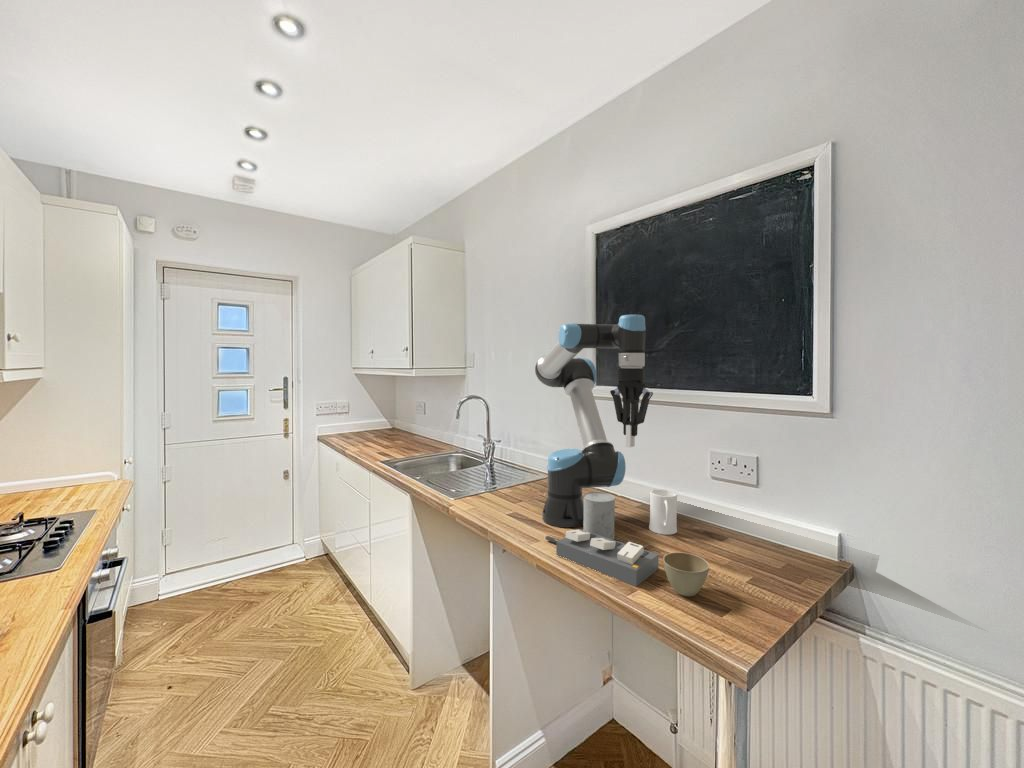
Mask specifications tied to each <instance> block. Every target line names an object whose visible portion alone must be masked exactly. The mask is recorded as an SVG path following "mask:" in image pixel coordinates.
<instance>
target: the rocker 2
mask: <svg viewBox="0 0 1024 768" xmlns="http://www.w3.org/2000/svg"><path fill="white" fill-rule="evenodd" d="M615 544H616V542H614V541H611V540H608V539H605V538H591V542H590V546H593V547H596V548H599V549H602V550H608V549H615Z"/></svg>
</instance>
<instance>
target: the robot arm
mask: <svg viewBox="0 0 1024 768" xmlns="http://www.w3.org/2000/svg"><path fill="white" fill-rule="evenodd" d="M646 328H647V327H646V317H645V316H644V315H643V314H624V315H623V314H622V315H620V317H619V319H618V323H617V324H614V323H613V324H612V323H610V324H608V323H605V324H604V323H602V324H601V323H600V324H598V323H577V322H576V323H575V322H574V323H573V322H572V323H564V324H562V325H561V326H560V328H559V331H558V341H557V342H556V344H555V345H554V346H553V347H552V348H551V349H550V351H548V352H547V354H545V355H543V356H541V357H540V358H539V359H538V360H537V361H536V364H535V367H534V371H535V376H536V377H537V379H538V381H540V382H541V383H542V384H543V385H545V386H547V387H550V388H563V389H564V393H565V395H567V396H570V399H571V400H570V401H571V403H572V404H571V405H572V407H573V411H574V415H575V420H576V423H577V426H578V429H579V433H580V437H581V441H582V445H583V449H582V450H581V449H579V448H563V449H558V450H555V451H552V453H550V454H549V455H548V458H547V466H546V469H547V498H546V500H545V503H544V505H543V510H542V513H541V514H542V521H543V522H545V524H548V525H550V526H554V527H559V528H575V527H580V526H583V523H584V498H583V489H591V488H593V489H594V488H610V487H615V486H619V485H621V484H622V483H623V481H624V478H625V475H626V458H625V456H624V454H623V453H622V452H621V451H618V450H617V451H616V450H615V447H614V444H613V443H612V442H609V441H608V439H607V435H606V433H605V429H604V426H603V423H602V420H601V419H602V418H601V417H600V412H599V410H598V406H597V403H596V399H595V396H594V393H593V389H594V387H595V384H596V383H597V378H598V376H597V368H596V366H595V364H594V362H593V361H592V360H591V359H589V358H586V357H585V358H584V357H583V358H582V357H576V356H577V355H578V354H579V353H580V352H581V351H582V350H583V349H609V350H613V349H614V350H615V349H618V366H619V367H620V368H618V371H617V376H618V377H617V379H618V383H617V387H615V388H614V389H612V390H611V389H610V391H609V393H610V395H611V397H612V399H613V404H614V408H615V409H614V410H615V414H616V419H617V422H618V423H621V424H623V427H622V428H623V431H622V433H623V435H624V436H625V448H634V447H635V441H636V439H635V438H636V437H637V436H638V425H640V424H644V422H645V418H646V416H647V415H646V414H647V412H648V407H649V404H650V400H651V398H652V397H653V396H654V392H653V391H649V390H648V389H647V388H646V384H645V374H646V373H645V368H644V367H645V363H646V359H645V358H646V357H645V355H646V354H645V353H646V331H647V330H646ZM575 357H576V358H575ZM621 396H622V397H621ZM641 396H642V398H640V397H641ZM640 399H641V400H640ZM639 403H640V404H639Z"/></svg>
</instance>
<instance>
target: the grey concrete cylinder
mask: <svg viewBox="0 0 1024 768" xmlns="http://www.w3.org/2000/svg"><path fill="white" fill-rule="evenodd" d="M582 498H583V502H584V523H583V525H582V526H583V527H582V530H584V531H588V532H591V533H594V534H597V535H600V536H603V537H606V538H609V539H612V540H615V517H616V514H615V509H616V507H615V503H616V497H615V495H613V494H611V493H607V492H601V491H600V492H599V491H593V492H592V491H591V492H587V493H585V494H583V495H582Z"/></svg>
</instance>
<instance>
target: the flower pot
mask: <svg viewBox="0 0 1024 768" xmlns="http://www.w3.org/2000/svg"><path fill="white" fill-rule="evenodd" d="M662 559H663V560H662V561H663V562H662V563H663V567H664V572H665V574H666V577H667V580H668V582H669V584H670V585H671V587H672V589H673V591H674V592H675V593H677V594H678V595H680V596H683V597H694V596H696V595H697V594H698V593H699V592H700V591H701V589H702V588H703V586H704V584H705V582H706V580H707V577H708V574H709V570H710V564H709V562H708V561H707V560H706V559H705V558H703V557H701V556H699V555H696V554H694V553H689V552H682V551H681V552H680V551H673V552H669V553H667V554H665V555H664V556H663V557H662Z"/></svg>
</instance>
